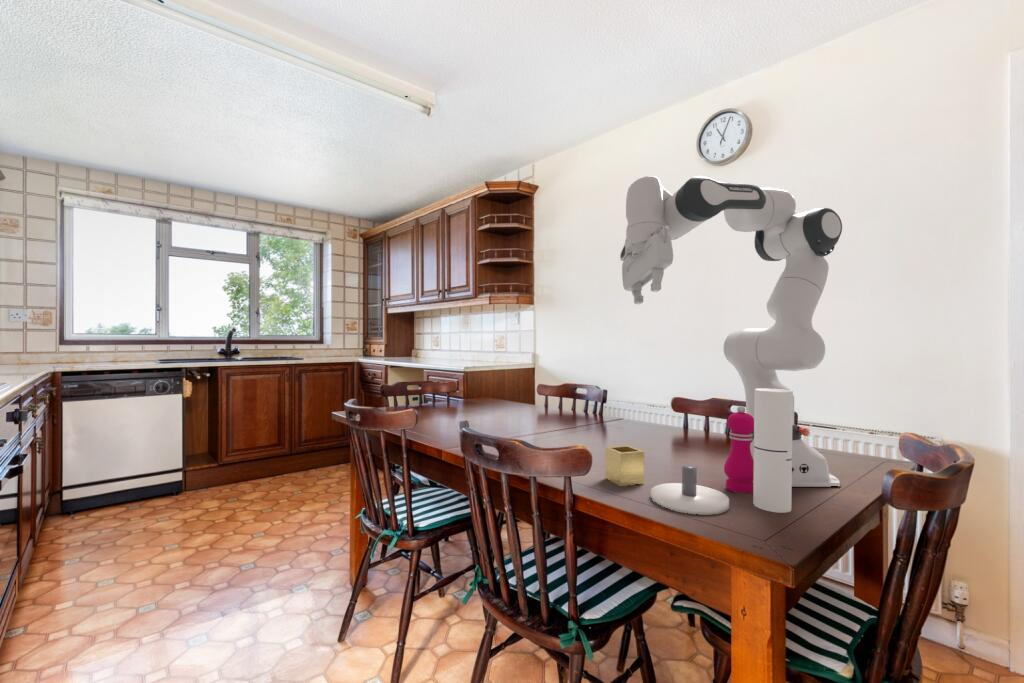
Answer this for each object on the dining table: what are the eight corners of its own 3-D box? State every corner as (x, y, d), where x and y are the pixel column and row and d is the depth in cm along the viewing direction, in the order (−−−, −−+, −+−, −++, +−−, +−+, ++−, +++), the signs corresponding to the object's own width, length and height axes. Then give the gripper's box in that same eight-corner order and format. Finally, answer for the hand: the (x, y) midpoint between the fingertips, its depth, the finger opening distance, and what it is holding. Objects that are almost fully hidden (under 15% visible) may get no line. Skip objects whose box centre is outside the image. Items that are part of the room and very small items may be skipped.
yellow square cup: (605, 478, 118) (605, 447, 118) (627, 476, 120) (628, 445, 120) (620, 486, 111) (620, 453, 111) (643, 483, 114) (644, 451, 114)
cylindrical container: (746, 500, 102) (747, 388, 102) (777, 500, 103) (778, 388, 103) (766, 512, 95) (767, 392, 95) (799, 512, 96) (800, 392, 96)
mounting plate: (717, 491, 108) (717, 459, 108) (739, 517, 93) (739, 480, 93) (646, 487, 111) (647, 456, 111) (656, 511, 95) (657, 475, 95)
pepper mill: (753, 486, 113) (754, 404, 113) (760, 495, 106) (761, 408, 106) (721, 483, 115) (722, 403, 115) (726, 492, 108) (727, 407, 108)
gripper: (679, 223, 100) (682, 283, 97) (640, 259, 120) (642, 310, 117) (651, 220, 99) (653, 281, 96) (617, 257, 119) (618, 308, 116)
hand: (647, 297), depth 107 cm, fingers open, 8 cm apart
